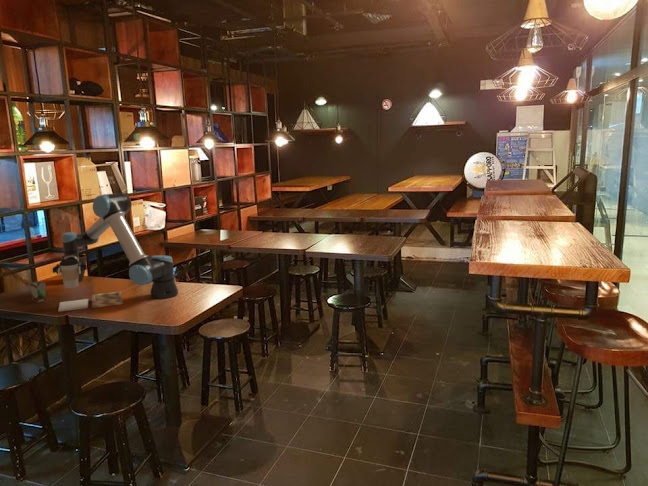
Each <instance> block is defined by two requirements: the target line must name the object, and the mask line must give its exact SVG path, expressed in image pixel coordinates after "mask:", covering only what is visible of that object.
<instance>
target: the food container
mask: <svg viewBox="0 0 648 486" xmlns="http://www.w3.org/2000/svg"><path fill="white" fill-rule="evenodd" d="M29 287H30V293H31V298H32V301H33V300H34V301H33V302H35V303H37V304H42V303H45V302H46V301H45V300H46V288H47V285H46V283H45V281H32V282H29ZM41 302H42V303H41Z"/></svg>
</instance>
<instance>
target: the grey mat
mask: <svg viewBox="0 0 648 486" xmlns="http://www.w3.org/2000/svg"><path fill="white" fill-rule="evenodd" d="M88 308H89V298H84V299H76V300H67V301H61V302H59V305H58V310H57V311H58V312H66V311H72V310H73V311H74V310H83V309H88Z"/></svg>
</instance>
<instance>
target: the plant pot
mask: <svg viewBox="0 0 648 486" xmlns="http://www.w3.org/2000/svg"><path fill="white" fill-rule="evenodd" d="M78 254H79V264H80V263H81V262H84V264H86V265H87V254H84V253H78ZM59 259H60V262H61V261H62V260H64V255H63V256H60V258H59ZM78 272H79V270H78ZM85 273H86V270H84V269H83V271H81V274H79V278H78V283H80V282H82V281H83V280H84V277H85Z"/></svg>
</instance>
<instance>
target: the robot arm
mask: <svg viewBox="0 0 648 486" xmlns="http://www.w3.org/2000/svg"><path fill="white" fill-rule="evenodd" d="M132 204H133V203H132V200H131V198H130V197H129V195H127V194H126V193H124V192H113V193H107V194H105V193H104V194H100V195H97V196H96V197H95V198H94V199H93V202H92V211H93V213H94V215H95V216H97V220H96V221H95V222H94V223H93V224H91V226H90V227H89V228H88V229H86V230H85V231H84V232H83V233H78V234H77V232H75V231H74V232H72V231H71V232H68V231H67V232H64V233H63V234H62V235H61V238H62V239H61V241H62V246H63V256H64V259H70V258H75V259H76V260H77V261H78V270H79V274H81V271H83V269H84V270H85V271H87V270H88V267H87V263H86V264H84V262H81V263H80V264H79V254H80V253H79V248H81V247H86V246H90V245H91V246H92V245H94V244H97V243H98V242H99V240H100V237H101V236H102V235H103V234H104V233H105V232H106V231H107V230H108V229H109V228H111V230H112V231H113V234H114V235H115V237H116V239H117V241H118V243H119V244H120V247H121V249H122V250H123V252H124V254H125V256H126V257H127V260H128V261H129V264H128V267H129V270H128V276H129V279H130V280H131V282H133V283H134V284H135V285H138V286H145V285H149V284H151V283H152V286H151V289H150V293H149V294H150V297H151V298H153V299H169V298H174V297H176V296H177V294H178V295H179V289H178V286H177V285H176V283H175V275H174V262H173V257H172V256H170V255H160V254H159V255H157V254H156V255H151V256H150V255H147V254H145V252H144V251H143V248H142V246H141V244H140V243H139V241H138V239H137V238H136V236H135V234H134V232H133V230H132V229H131V227H130V225H129V223H128V221H127V220H126V217H125V216H126V215H127V214H128V213H129V212H130V210H131V208H132ZM59 264H60V263H57V264H56V265H55V266H53V267H52V273H53V274H56V275H58V277H59V276H61V270H60V269H61V268H60V265H59ZM173 296H174V297H173Z"/></svg>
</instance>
